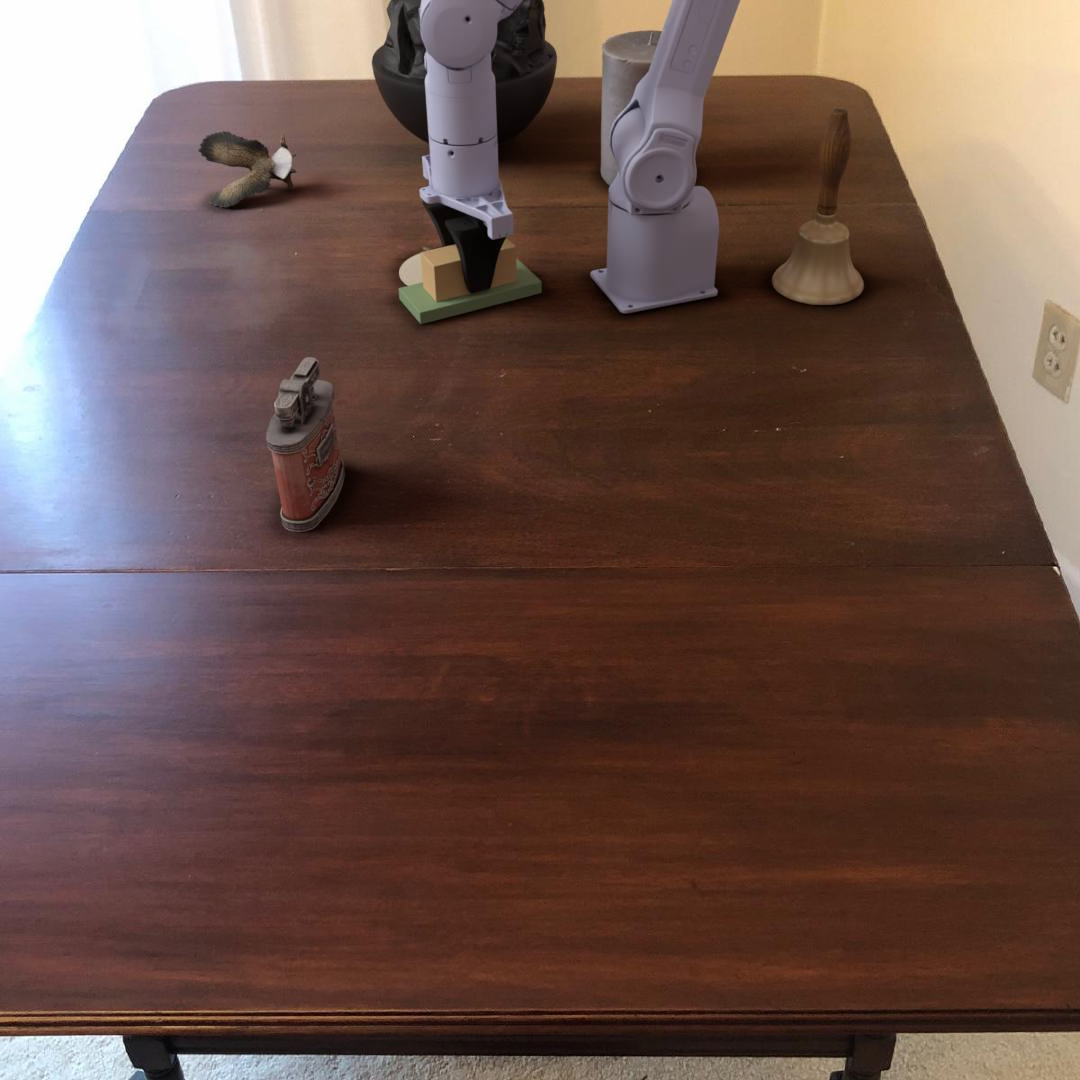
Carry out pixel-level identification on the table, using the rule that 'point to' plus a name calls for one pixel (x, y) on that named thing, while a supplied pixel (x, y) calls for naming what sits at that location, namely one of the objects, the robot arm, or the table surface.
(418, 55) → the bowl of black rocks
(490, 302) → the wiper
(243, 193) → the eagle figurine
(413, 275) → the spill
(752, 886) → the table surface
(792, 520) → the table surface
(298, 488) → the lighter
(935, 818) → the table surface
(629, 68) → the pillar candle
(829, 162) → the hand bell
